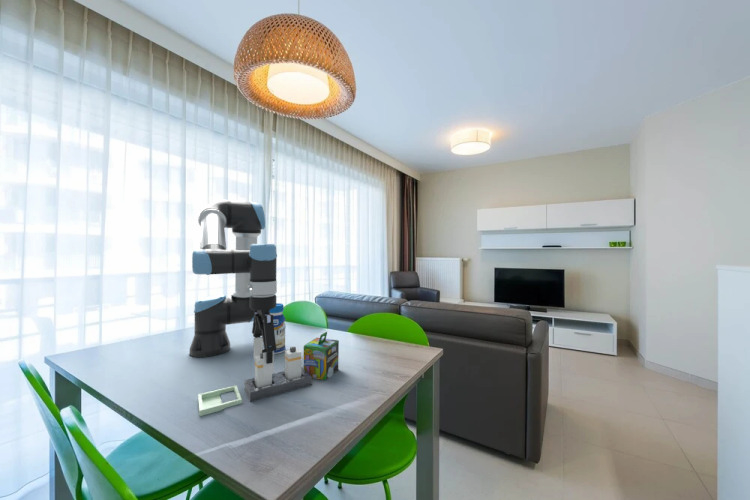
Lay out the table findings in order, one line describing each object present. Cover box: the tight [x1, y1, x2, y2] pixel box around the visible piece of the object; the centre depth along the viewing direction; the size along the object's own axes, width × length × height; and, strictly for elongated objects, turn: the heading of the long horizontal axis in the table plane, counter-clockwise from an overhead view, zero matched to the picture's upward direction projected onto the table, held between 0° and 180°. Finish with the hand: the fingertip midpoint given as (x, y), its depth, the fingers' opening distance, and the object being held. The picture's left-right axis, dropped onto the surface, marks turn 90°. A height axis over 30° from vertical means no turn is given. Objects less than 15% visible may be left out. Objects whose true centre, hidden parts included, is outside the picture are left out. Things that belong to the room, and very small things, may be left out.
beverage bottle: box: [269, 302, 286, 355], centre depth 122 cm, size 8×8×20 cm
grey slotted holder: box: [243, 366, 313, 402], centre depth 88 cm, size 9×18×4 cm, turn 124°
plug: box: [254, 353, 273, 388], centre depth 86 cm, size 4×4×11 cm
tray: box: [197, 384, 243, 417], centre depth 80 cm, size 10×10×2 cm
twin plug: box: [284, 346, 302, 380], centre depth 91 cm, size 4×4×11 cm
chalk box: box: [303, 331, 340, 381], centre depth 98 cm, size 9×9×15 cm
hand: (263, 365), depth 86 cm, fingers open, 13 cm apart
